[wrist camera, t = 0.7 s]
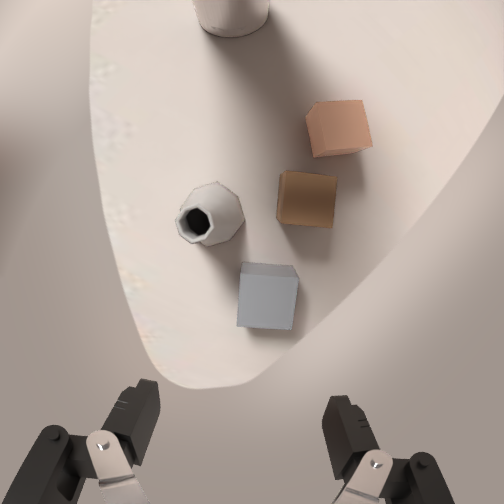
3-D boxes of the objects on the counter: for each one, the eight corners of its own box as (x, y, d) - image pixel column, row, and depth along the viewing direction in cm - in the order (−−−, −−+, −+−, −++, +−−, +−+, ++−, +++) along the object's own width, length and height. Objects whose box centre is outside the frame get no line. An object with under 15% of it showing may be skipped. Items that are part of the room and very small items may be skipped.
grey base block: (242, 261, 33) (240, 273, 28) (292, 265, 33) (299, 277, 28) (238, 308, 34) (236, 326, 30) (286, 311, 35) (291, 329, 30)
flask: (255, 221, 32) (257, 235, 22) (205, 256, 33) (186, 283, 23) (219, 170, 31) (205, 161, 21) (170, 207, 32) (137, 214, 22)
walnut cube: (279, 174, 31) (285, 170, 25) (322, 179, 31) (337, 176, 25) (276, 217, 32) (281, 223, 26) (318, 221, 32) (332, 228, 26)
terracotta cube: (304, 117, 30) (315, 102, 24) (344, 114, 29) (362, 100, 23) (313, 157, 31) (326, 150, 25) (352, 153, 30) (372, 146, 24)
